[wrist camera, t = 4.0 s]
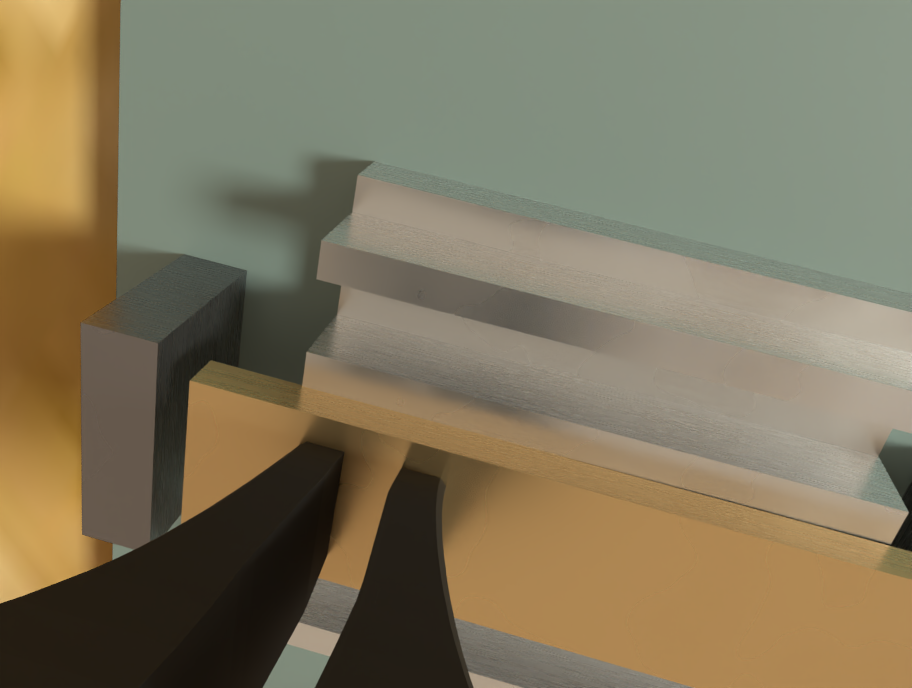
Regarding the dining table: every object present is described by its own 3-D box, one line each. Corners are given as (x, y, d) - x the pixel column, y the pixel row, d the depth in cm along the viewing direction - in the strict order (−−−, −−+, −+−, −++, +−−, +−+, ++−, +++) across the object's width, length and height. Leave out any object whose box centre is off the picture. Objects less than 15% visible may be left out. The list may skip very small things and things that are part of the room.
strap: (962, 727, 13) (984, 778, 12) (202, 508, 14) (177, 541, 13) (1060, 588, 12) (1093, 634, 11) (213, 357, 13) (186, 383, 12)
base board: (828, 868, 20) (838, 910, 19) (131, 659, 21) (110, 690, 20) (1421, -17, 11) (1494, -15, 10) (161, -282, 12) (124, -302, 11)
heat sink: (864, 731, 17) (920, 902, 13) (169, 532, 18) (76, 649, 15) (1107, 342, 13) (1264, 461, 10) (191, 115, 14) (70, 158, 11)
